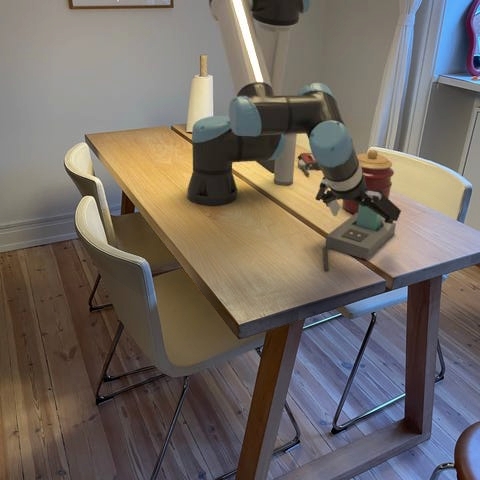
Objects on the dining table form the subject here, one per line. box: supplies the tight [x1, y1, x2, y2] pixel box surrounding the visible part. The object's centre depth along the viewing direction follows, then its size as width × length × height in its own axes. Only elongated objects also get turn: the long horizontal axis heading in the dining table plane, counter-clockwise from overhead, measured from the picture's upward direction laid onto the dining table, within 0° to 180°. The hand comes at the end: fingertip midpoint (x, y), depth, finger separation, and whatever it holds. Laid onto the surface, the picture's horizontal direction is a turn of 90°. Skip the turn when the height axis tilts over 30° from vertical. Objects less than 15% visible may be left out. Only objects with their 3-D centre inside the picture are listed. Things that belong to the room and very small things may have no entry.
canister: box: [342, 149, 395, 215], centre depth 140 cm, size 13×13×18 cm
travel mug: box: [273, 134, 298, 186], centre depth 157 cm, size 6×7×20 cm
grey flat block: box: [324, 213, 397, 260], centre depth 124 cm, size 18×11×3 cm, turn 144°
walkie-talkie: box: [297, 152, 322, 176], centre depth 175 cm, size 9×4×20 cm
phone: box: [255, 160, 275, 174], centre depth 176 cm, size 7×1×15 cm
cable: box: [322, 245, 329, 272], centre depth 115 cm, size 11×1×1 cm, turn 172°
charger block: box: [356, 200, 382, 232], centre depth 126 cm, size 5×5×11 cm
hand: (362, 218), depth 121 cm, fingers open, 13 cm apart
